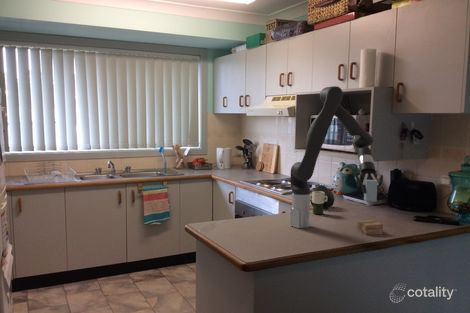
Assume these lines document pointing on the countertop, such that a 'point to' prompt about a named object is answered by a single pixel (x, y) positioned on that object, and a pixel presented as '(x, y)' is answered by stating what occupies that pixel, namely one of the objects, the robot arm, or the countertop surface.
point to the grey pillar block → (371, 191)
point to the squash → (329, 195)
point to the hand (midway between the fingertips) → (371, 192)
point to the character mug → (318, 201)
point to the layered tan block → (369, 227)
